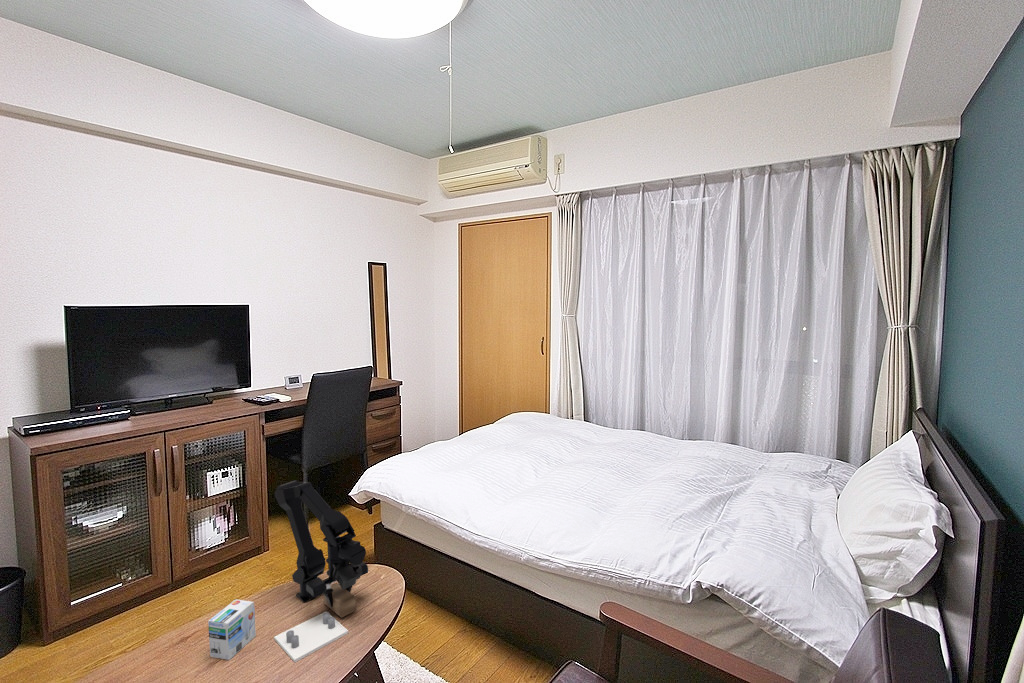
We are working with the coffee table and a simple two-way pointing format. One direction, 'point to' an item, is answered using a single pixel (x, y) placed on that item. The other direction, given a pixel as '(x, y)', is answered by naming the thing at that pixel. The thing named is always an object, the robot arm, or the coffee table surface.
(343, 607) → the walnut board
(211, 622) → the light bulb box
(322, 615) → the peg stand
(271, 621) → the coffee table surface
